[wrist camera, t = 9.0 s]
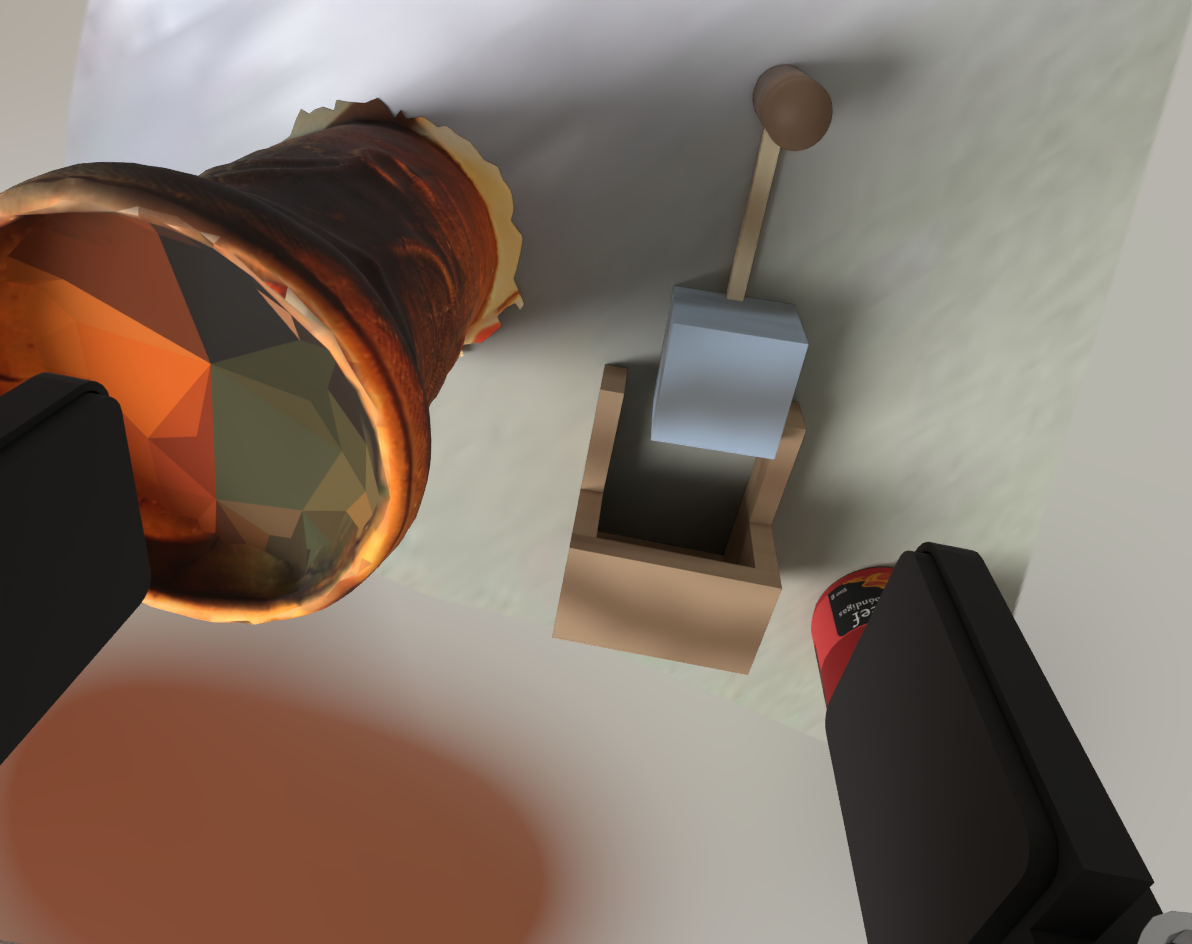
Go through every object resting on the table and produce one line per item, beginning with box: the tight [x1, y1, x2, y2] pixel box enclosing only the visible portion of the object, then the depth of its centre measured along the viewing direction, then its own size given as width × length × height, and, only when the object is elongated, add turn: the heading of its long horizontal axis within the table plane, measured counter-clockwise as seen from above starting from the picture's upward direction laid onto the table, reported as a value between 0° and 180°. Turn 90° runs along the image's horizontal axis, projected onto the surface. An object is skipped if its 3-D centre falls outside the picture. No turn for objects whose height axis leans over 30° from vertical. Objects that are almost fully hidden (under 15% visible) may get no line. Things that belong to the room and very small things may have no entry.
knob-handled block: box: [651, 64, 833, 459], centre depth 35 cm, size 16×6×6 cm, turn 172°
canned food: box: [811, 567, 894, 708], centre depth 44 cm, size 8×8×11 cm
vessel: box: [0, 98, 524, 625], centre depth 31 cm, size 14×14×20 cm
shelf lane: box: [552, 364, 806, 675], centre depth 41 cm, size 12×10×8 cm
